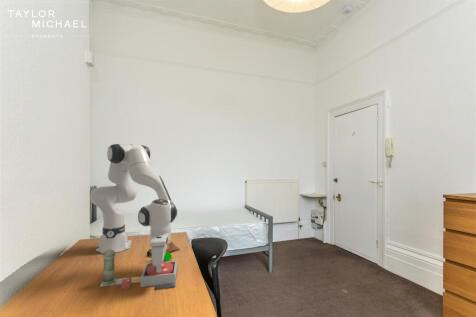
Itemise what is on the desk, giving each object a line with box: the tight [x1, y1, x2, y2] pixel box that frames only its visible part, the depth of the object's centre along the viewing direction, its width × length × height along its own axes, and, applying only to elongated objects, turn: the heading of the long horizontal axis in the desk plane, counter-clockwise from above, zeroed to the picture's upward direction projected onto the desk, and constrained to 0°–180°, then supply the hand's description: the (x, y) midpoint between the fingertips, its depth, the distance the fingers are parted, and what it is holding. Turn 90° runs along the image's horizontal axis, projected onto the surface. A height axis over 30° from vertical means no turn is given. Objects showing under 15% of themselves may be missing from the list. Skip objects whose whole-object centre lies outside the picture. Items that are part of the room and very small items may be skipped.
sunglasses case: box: [146, 241, 181, 259], centre depth 132 cm, size 18×7×7 cm
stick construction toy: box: [149, 252, 173, 262], centre depth 120 cm, size 12×7×8 cm
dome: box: [147, 261, 173, 276], centre depth 100 cm, size 11×11×6 cm
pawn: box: [101, 249, 116, 286], centre depth 95 cm, size 5×5×14 cm
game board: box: [99, 260, 178, 291], centre depth 98 cm, size 16×31×5 cm, turn 102°
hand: (160, 267), depth 100 cm, fingers open, 8 cm apart
